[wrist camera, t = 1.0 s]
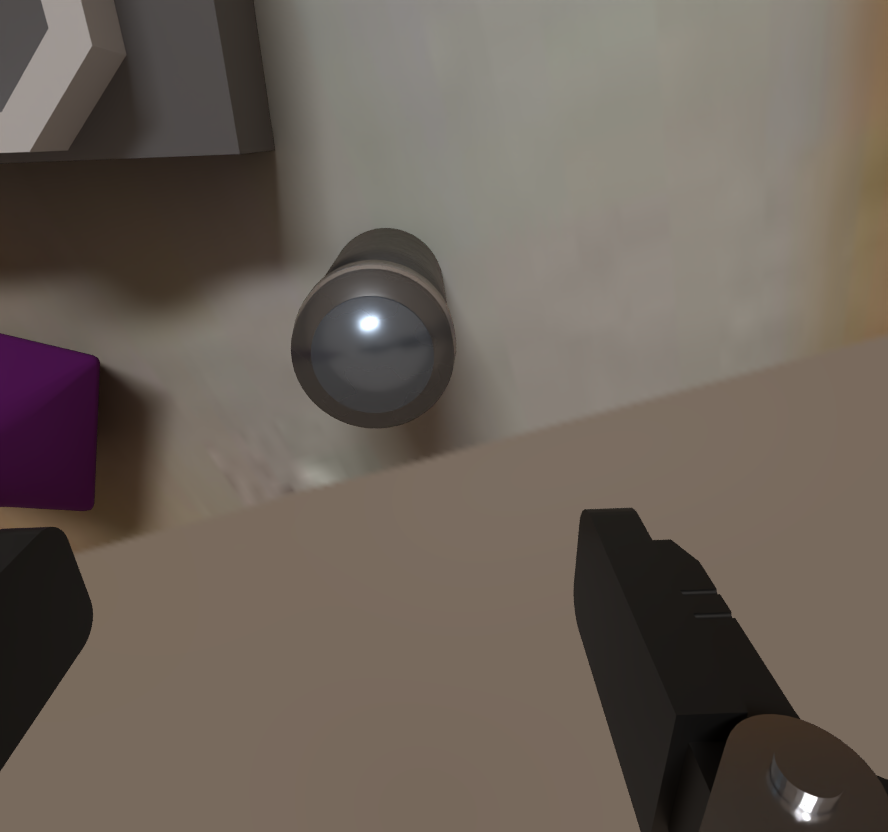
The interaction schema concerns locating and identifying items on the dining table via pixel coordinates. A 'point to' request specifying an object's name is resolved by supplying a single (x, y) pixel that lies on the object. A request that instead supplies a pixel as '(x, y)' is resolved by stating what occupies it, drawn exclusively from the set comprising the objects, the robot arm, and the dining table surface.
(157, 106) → the camera body
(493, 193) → the dining table surface
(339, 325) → the lens
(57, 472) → the perfume bottle
